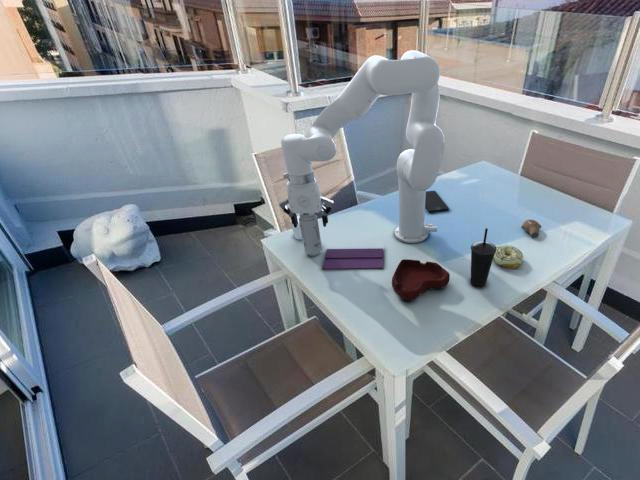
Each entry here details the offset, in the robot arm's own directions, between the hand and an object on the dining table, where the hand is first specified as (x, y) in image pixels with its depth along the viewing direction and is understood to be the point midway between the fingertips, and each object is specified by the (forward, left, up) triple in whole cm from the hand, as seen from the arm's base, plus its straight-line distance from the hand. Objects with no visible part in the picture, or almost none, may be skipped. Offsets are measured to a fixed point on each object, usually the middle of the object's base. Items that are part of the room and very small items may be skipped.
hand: (310, 225), depth 129 cm
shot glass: (+6, -11, -11) cm, 17 cm away
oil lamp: (-80, -12, -11) cm, 82 cm away
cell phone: (-44, -37, -11) cm, 59 cm away
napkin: (-14, +5, -11) cm, 18 cm away
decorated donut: (-66, +7, -11) cm, 68 cm away
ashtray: (-34, +19, -11) cm, 41 cm away
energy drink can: (+1, 0, -11) cm, 11 cm away
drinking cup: (-54, +19, -11) cm, 59 cm away
